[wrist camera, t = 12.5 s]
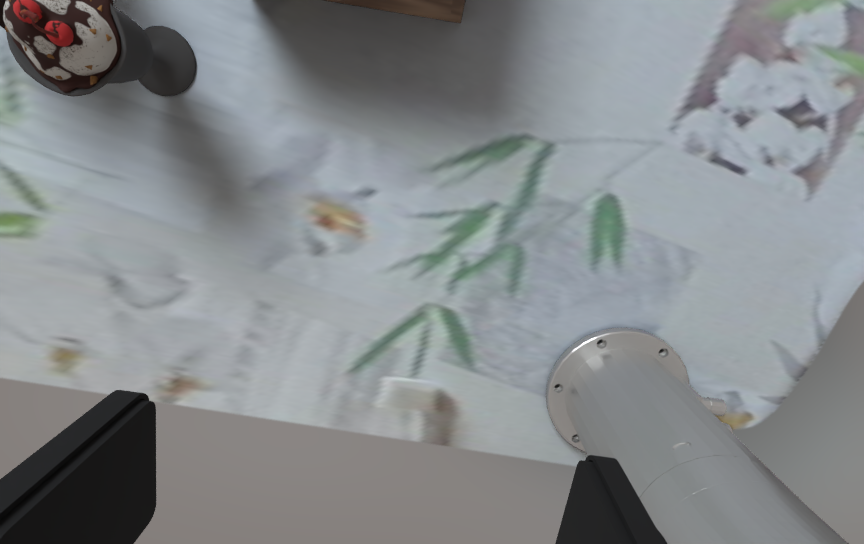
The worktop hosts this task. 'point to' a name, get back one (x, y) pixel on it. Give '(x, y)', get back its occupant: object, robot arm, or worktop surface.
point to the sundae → (93, 47)
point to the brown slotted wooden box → (415, 7)
